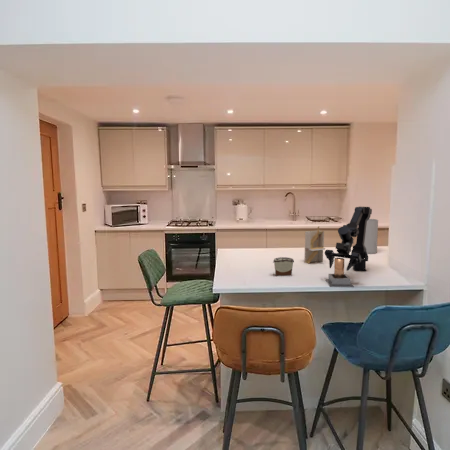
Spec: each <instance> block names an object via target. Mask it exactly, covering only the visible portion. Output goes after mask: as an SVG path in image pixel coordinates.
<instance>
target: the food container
mask: <svg viewBox="0 0 450 450" xmlns="http://www.w3.org/2000/svg"><path fill="white" fill-rule="evenodd" d="M294 263H295V260H294V258H291V257H286V256H285V257H284V256H280V257H276V258H274V259H273V262H272V264H274V273H275V277H290V276H291V277H292V274H293V267H294Z"/></svg>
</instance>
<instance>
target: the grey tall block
mask: <svg viewBox="0 0 450 450" xmlns="http://www.w3.org/2000/svg"><path fill="white" fill-rule="evenodd" d="M378 231H379V220H378V218H377V219H376V218H369V219H368V221H367V225H366V233H365V242H364V245H365V247H366V252H367V254H368V255H369V254H370V255H373V254H374V255H375V254H376V253H377V252H378V233H379V232H378Z"/></svg>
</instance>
